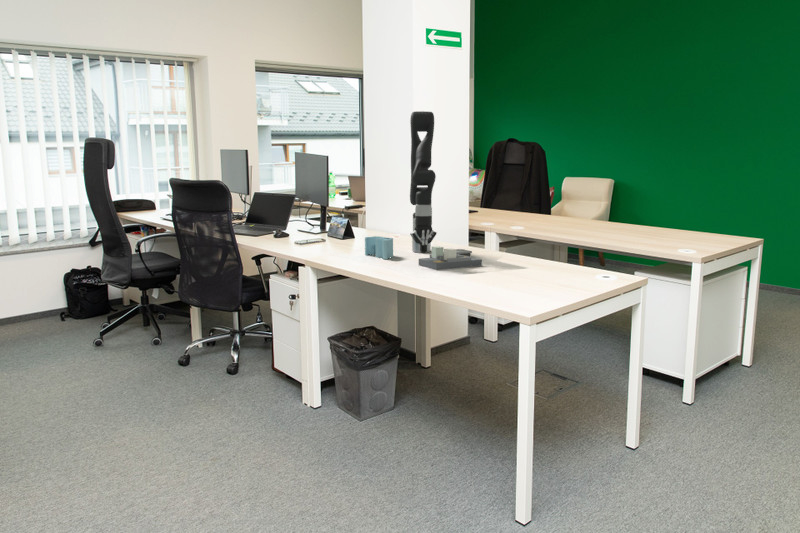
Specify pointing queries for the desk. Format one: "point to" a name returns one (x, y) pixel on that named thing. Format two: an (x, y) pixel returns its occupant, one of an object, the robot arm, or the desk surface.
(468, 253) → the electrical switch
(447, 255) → the cream tab
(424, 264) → the switch panel
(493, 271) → the desk surface
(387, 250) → the squiggly pen holder
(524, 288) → the desk surface
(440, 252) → the pale green block
